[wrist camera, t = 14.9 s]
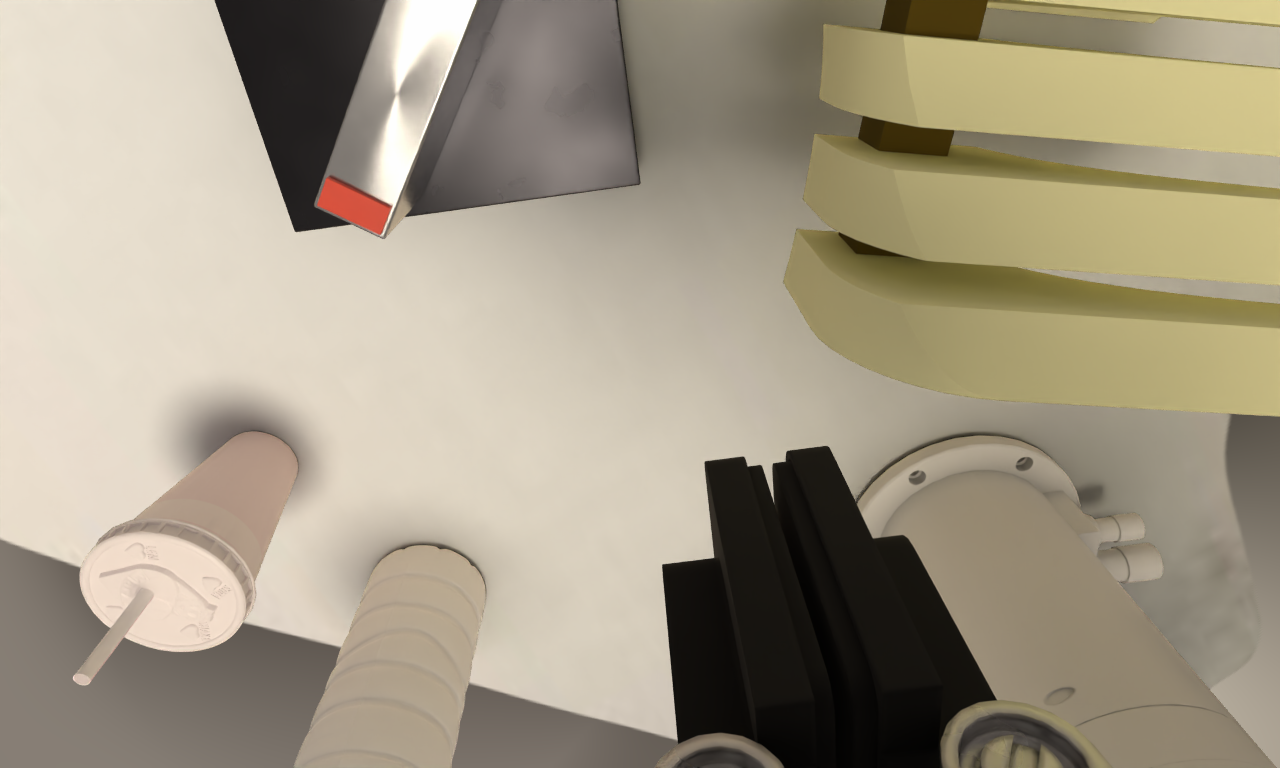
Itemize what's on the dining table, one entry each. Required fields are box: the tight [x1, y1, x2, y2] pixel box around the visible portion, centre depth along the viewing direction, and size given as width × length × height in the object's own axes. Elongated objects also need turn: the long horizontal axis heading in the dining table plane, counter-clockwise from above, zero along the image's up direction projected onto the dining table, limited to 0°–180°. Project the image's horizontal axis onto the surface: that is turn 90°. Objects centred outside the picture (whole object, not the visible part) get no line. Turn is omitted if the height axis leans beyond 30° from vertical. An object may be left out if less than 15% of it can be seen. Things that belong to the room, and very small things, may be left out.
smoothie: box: [73, 431, 298, 685], centre depth 33 cm, size 6×6×14 cm
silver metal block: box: [314, 0, 502, 239], centre depth 25 cm, size 9×2×6 cm, turn 152°
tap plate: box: [215, 0, 640, 232], centre depth 29 cm, size 14×10×3 cm
